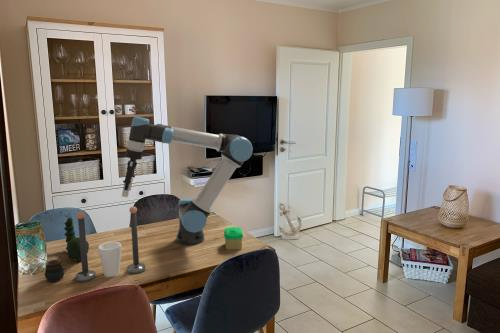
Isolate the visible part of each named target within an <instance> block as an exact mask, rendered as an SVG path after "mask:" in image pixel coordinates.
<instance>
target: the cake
mask: <svg viewBox="0 0 500 333" xmlns="http://www.w3.org/2000/svg"><path fill="white" fill-rule="evenodd" d="M242 230H243V229H242V228H241V227H237V226H230V227H226V228H224V231H223V235H224V236H223V237H224V242H225V243H224V244H225V250H242V249H243V238H244V233H243V231H242Z"/></svg>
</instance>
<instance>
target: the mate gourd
mask: <svg viewBox="0 0 500 333" xmlns="http://www.w3.org/2000/svg"><path fill="white" fill-rule="evenodd" d="M61 263H62V262H61V260H60V259H58V258H55V259H50V260H48V261H47V262H46V263H45V267H46V268H45V271H44V276H45V277H44V278H45V279H46V280H47V281H48V282H52V283H53V282H54V283H55V282H58V281H60V280H61V279H63V277H64V275H65V269H64V267H63V266H62V264H61Z"/></svg>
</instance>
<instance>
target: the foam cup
mask: <svg viewBox="0 0 500 333" xmlns="http://www.w3.org/2000/svg"><path fill="white" fill-rule="evenodd" d="M97 248H98V249H97V251H98V255H99V258H100V263H101V267H102V268H101V269H102V273H103V276H105V277H106V278H107V277H108V278H111V277H113V278H114V277H115V276H116V277H117V276H118V275H119V274H120V266H121V258H122V257H121V256H122V254H121V253H122V249H123V248H122V244H121V242H119V241H107V242H104V243H103V242H102V243H101V244H99V245H98V247H97Z"/></svg>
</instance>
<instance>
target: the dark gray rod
mask: <svg viewBox="0 0 500 333" xmlns="http://www.w3.org/2000/svg"><path fill="white" fill-rule="evenodd" d="M85 217H86V214H85V212H84V211H78V212H77V213H76V218H77V221H78V222H77V223H78V237H79V238H80V250H81V261H80V262H81V271H82V273H83V274H87V273H88V270H89V262H88V253H87V247H86V240H87V238H86V237H87V236H86V225H85V224H86V223H85V222H86V221H85Z"/></svg>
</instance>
